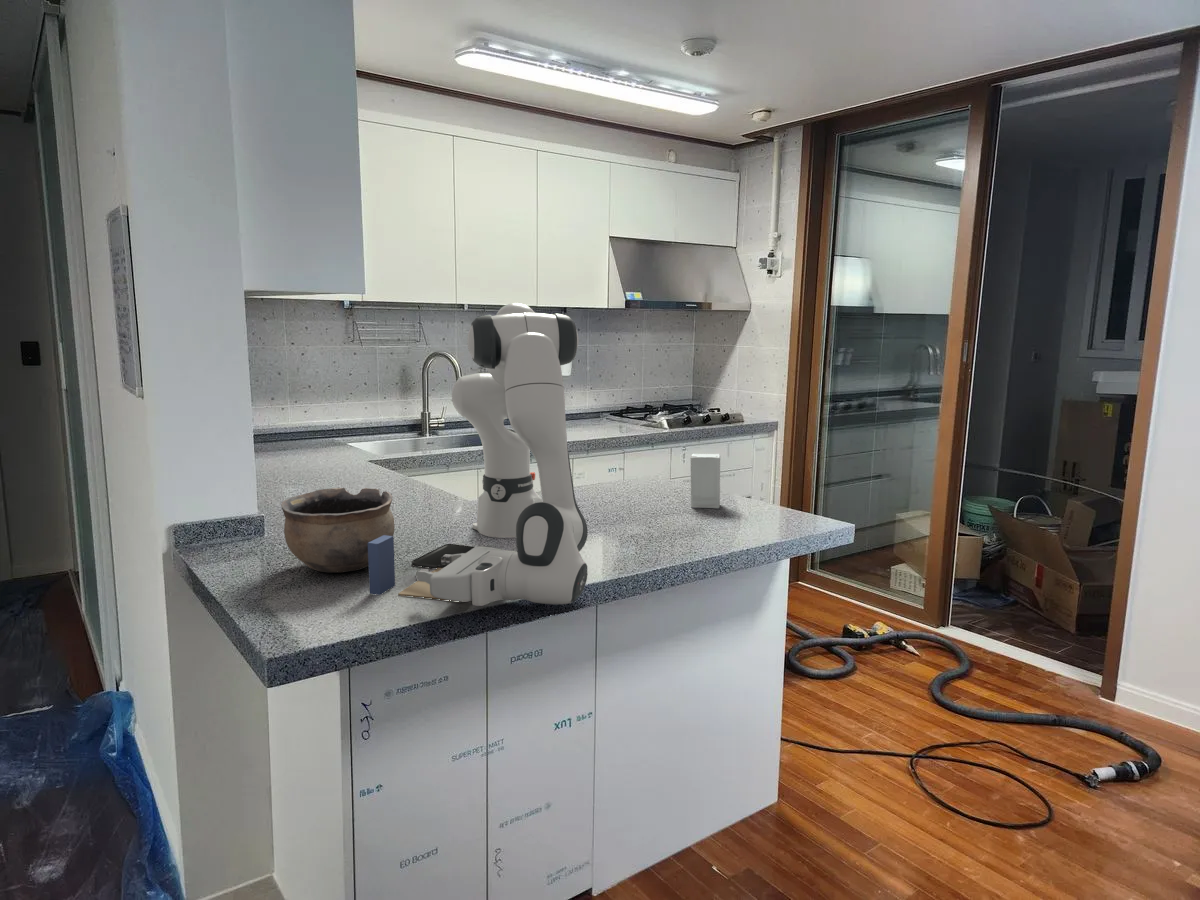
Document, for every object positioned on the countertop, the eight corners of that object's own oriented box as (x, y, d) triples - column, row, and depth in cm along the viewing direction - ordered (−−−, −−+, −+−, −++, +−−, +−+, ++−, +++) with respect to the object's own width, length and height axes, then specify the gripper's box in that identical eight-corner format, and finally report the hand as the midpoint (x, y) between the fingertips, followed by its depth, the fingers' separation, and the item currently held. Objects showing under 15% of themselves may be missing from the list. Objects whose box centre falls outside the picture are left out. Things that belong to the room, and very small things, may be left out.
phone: (409, 561, 162) (447, 543, 176) (409, 567, 162) (447, 547, 176) (441, 566, 160) (477, 546, 173) (441, 571, 160) (477, 551, 174)
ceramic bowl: (414, 557, 168) (412, 490, 166) (363, 590, 147) (359, 514, 145) (324, 549, 173) (321, 484, 171) (261, 580, 152) (256, 506, 150)
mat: (438, 569, 160) (437, 567, 160) (495, 575, 156) (495, 573, 156) (398, 595, 145) (398, 593, 144) (461, 602, 141) (461, 600, 141)
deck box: (385, 584, 151) (383, 535, 149) (395, 585, 150) (393, 536, 148) (369, 593, 145) (367, 542, 144) (380, 595, 145) (378, 543, 143)
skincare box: (719, 504, 219) (721, 453, 217) (719, 509, 213) (721, 457, 211) (690, 503, 221) (692, 452, 218) (689, 508, 215) (690, 455, 212)
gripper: (520, 541, 150) (455, 535, 153) (475, 574, 130) (403, 567, 134) (520, 572, 151) (456, 566, 154) (476, 610, 131) (404, 601, 135)
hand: (431, 566), depth 144 cm, fingers open, 8 cm apart
